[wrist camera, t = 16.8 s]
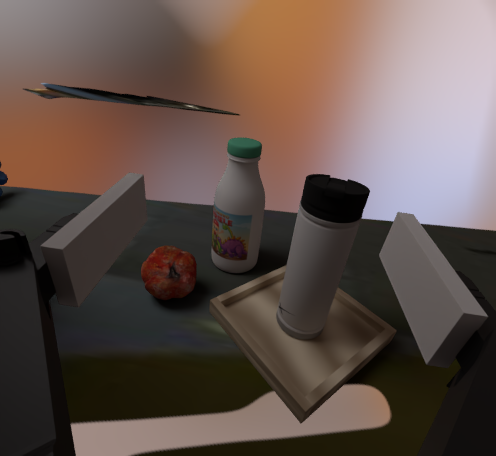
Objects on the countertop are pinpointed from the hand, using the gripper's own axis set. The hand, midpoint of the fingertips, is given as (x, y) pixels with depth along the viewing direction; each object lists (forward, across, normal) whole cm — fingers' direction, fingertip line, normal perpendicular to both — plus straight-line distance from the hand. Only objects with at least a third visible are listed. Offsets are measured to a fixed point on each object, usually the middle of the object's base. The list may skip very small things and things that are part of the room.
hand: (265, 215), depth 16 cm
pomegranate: (+17, -11, -24) cm, 31 cm away
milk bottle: (+26, -4, -24) cm, 35 cm away
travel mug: (+14, +7, -23) cm, 27 cm away
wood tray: (+14, +7, -24) cm, 28 cm away
